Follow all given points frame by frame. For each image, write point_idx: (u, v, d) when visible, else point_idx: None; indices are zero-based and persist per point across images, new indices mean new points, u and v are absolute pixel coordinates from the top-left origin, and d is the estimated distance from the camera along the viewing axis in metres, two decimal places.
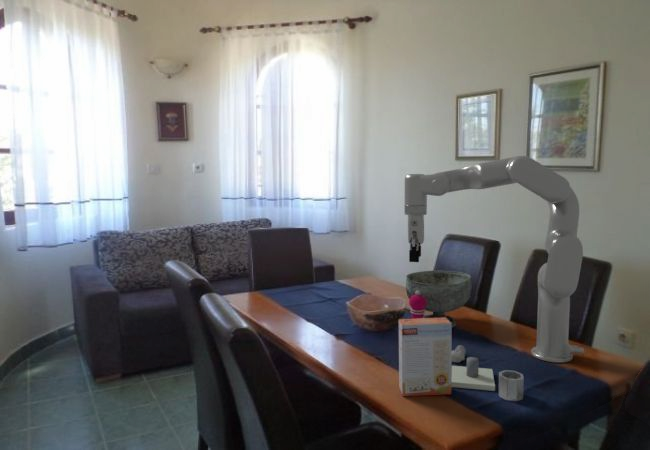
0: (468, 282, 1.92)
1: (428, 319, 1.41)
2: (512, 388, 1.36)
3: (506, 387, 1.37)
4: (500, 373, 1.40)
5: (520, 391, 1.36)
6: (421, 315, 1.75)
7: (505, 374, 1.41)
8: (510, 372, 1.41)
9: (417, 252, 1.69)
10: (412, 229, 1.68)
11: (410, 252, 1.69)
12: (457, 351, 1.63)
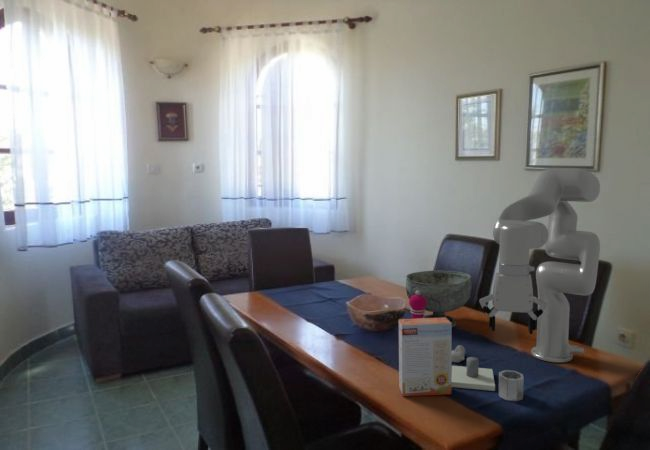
0: (468, 282, 1.92)
1: (428, 319, 1.41)
2: (512, 388, 1.36)
3: (506, 387, 1.37)
4: (500, 373, 1.40)
5: (520, 391, 1.36)
6: (421, 315, 1.75)
7: (505, 374, 1.41)
8: (510, 372, 1.41)
9: None
10: None
11: (532, 322, 1.34)
12: (457, 351, 1.63)
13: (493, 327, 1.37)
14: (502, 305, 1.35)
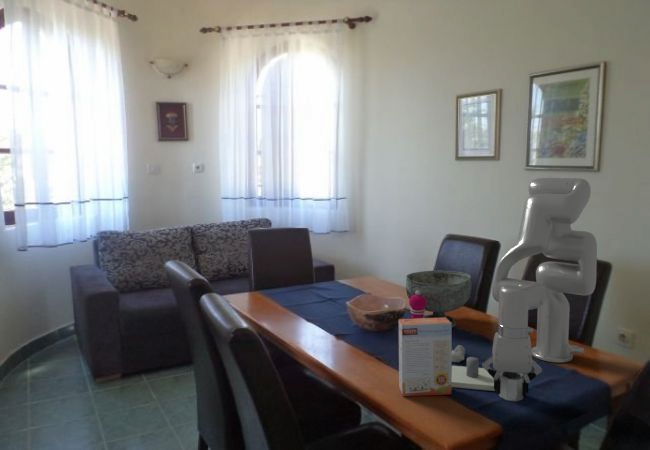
0: (468, 282, 1.92)
1: (428, 319, 1.41)
2: (512, 388, 1.36)
3: (506, 387, 1.37)
4: None
5: (520, 391, 1.36)
6: (421, 315, 1.75)
7: (505, 374, 1.41)
8: (510, 372, 1.41)
9: None
10: (531, 354, 1.36)
11: (525, 385, 1.37)
12: (457, 351, 1.63)
13: (498, 390, 1.38)
14: (501, 366, 1.37)
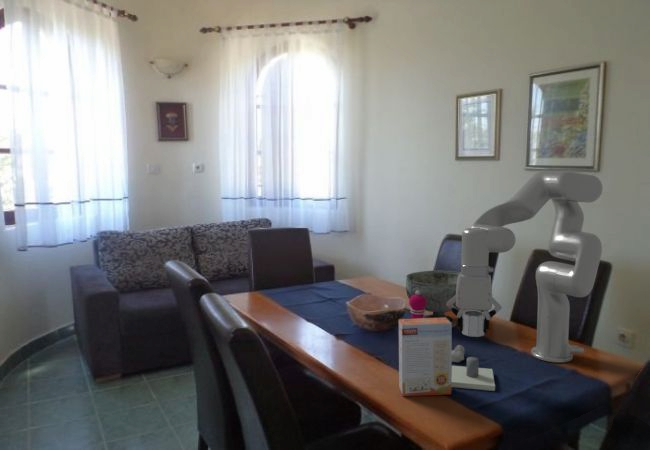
0: None
1: (428, 319, 1.41)
2: (473, 324, 1.44)
3: (468, 323, 1.45)
4: (463, 312, 1.48)
5: (481, 327, 1.45)
6: (421, 315, 1.75)
7: (468, 313, 1.49)
8: (473, 311, 1.49)
9: None
10: None
11: (486, 322, 1.45)
12: (456, 351, 1.63)
13: (461, 327, 1.47)
14: (464, 303, 1.45)
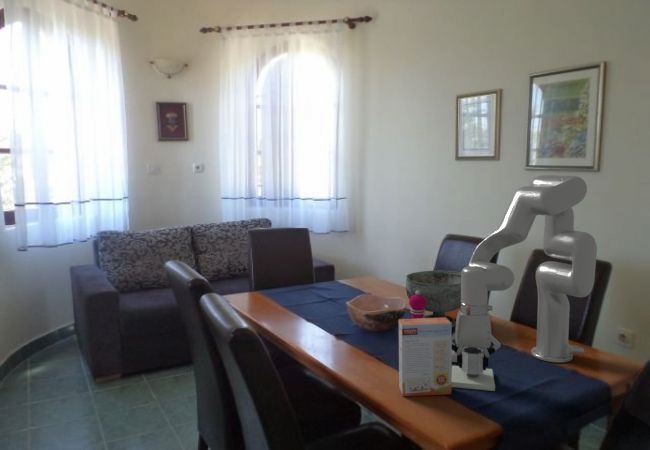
0: None
1: (428, 319, 1.41)
2: (473, 362, 1.46)
3: (467, 361, 1.46)
4: (462, 349, 1.49)
5: (480, 365, 1.46)
6: (421, 315, 1.75)
7: (467, 350, 1.51)
8: (472, 348, 1.51)
9: None
10: None
11: (485, 359, 1.47)
12: None
13: (460, 364, 1.48)
14: (463, 341, 1.47)
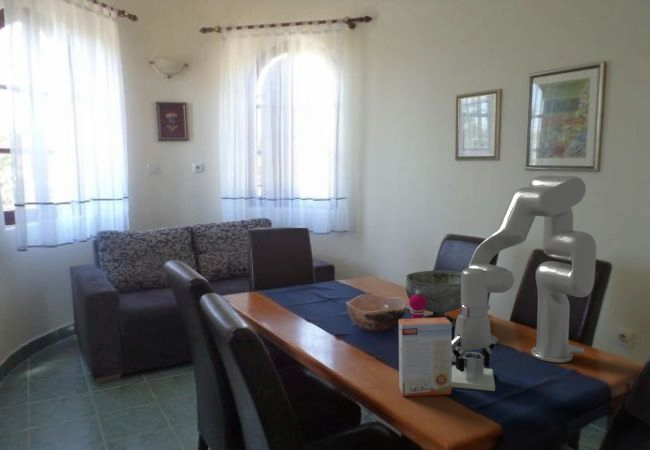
0: None
1: (428, 319, 1.41)
2: (479, 367, 1.46)
3: (474, 368, 1.46)
4: (464, 356, 1.48)
5: (483, 368, 1.48)
6: (421, 315, 1.75)
7: (464, 357, 1.50)
8: (468, 354, 1.51)
9: None
10: None
11: None
12: None
13: (463, 368, 1.46)
14: (469, 345, 1.45)
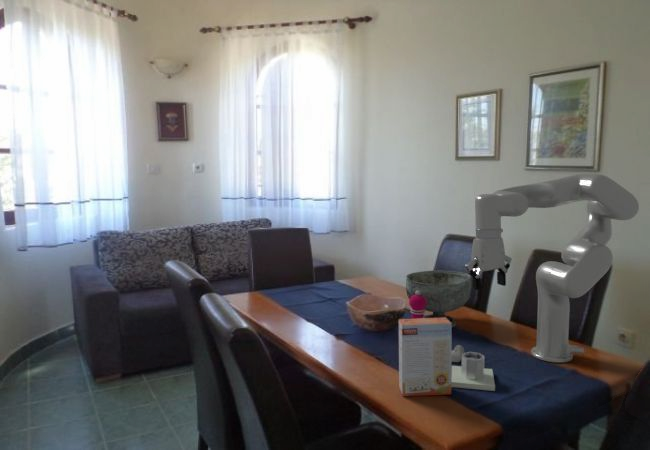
0: (468, 282, 1.92)
1: (428, 319, 1.41)
2: (479, 367, 1.46)
3: (474, 368, 1.46)
4: (464, 356, 1.48)
5: (483, 368, 1.48)
6: (421, 315, 1.75)
7: (464, 357, 1.50)
8: (468, 354, 1.51)
9: None
10: None
11: None
12: (456, 351, 1.64)
13: (480, 286, 1.55)
14: (486, 265, 1.55)
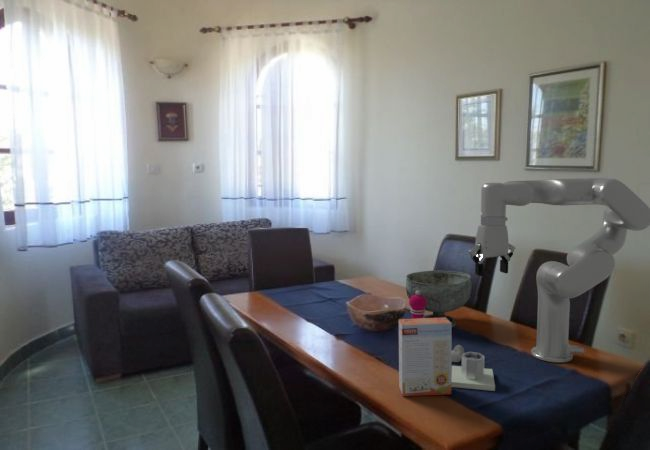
0: (468, 282, 1.92)
1: (428, 319, 1.41)
2: (479, 367, 1.46)
3: (474, 368, 1.46)
4: (464, 356, 1.48)
5: (483, 368, 1.48)
6: (421, 315, 1.75)
7: (464, 357, 1.50)
8: (468, 354, 1.51)
9: None
10: None
11: None
12: (456, 351, 1.64)
13: (482, 272, 1.59)
14: (489, 252, 1.59)
